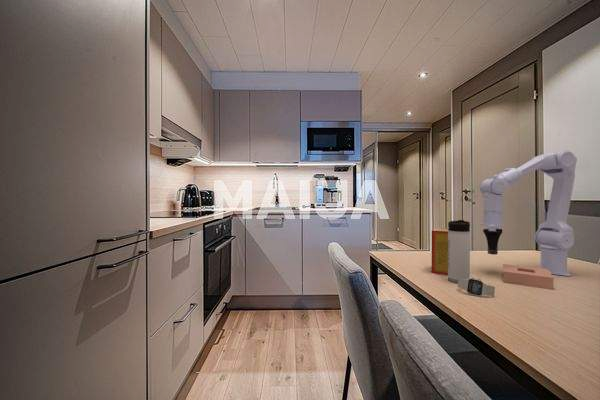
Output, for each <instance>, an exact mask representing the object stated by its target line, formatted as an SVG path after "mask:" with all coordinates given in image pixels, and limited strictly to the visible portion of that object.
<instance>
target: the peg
mask: <svg viewBox="0 0 600 400" xmlns="http://www.w3.org/2000/svg"><path fill="white" fill-rule="evenodd" d="M498 245H499V244H498ZM498 245H497V249H496V250H489V248H488V247H487V254H488V255H498V254H499V253H498V248H499V246H498Z"/></svg>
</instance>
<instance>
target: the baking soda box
mask: <svg viewBox="0 0 600 400" xmlns="http://www.w3.org/2000/svg"><path fill="white" fill-rule="evenodd" d="M431 274H436V275H442V276H448V228H441V227H435V228H434V229H432V230H431Z"/></svg>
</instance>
